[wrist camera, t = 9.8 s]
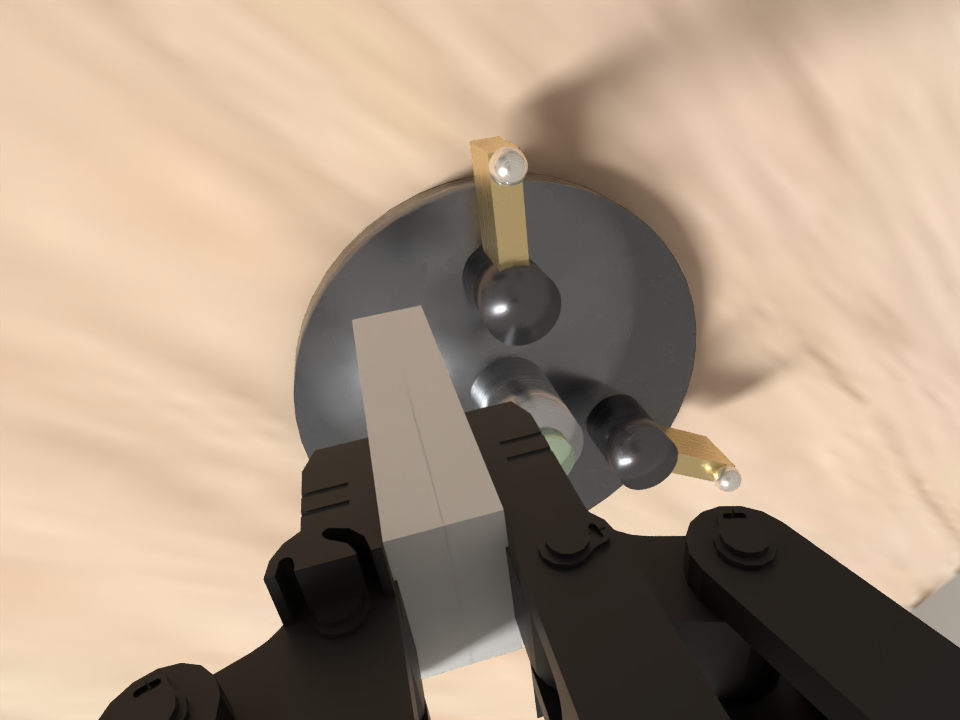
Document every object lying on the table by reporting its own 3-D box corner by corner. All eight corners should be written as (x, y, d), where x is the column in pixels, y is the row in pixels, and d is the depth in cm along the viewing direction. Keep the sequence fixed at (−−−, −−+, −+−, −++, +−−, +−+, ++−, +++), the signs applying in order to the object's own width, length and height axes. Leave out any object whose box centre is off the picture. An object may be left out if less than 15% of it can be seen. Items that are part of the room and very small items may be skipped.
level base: (372, 97, 25) (396, 122, 18) (744, 253, 33) (859, 312, 26) (248, 493, 32) (231, 618, 25) (575, 541, 40) (629, 646, 33)
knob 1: (532, 299, 28) (566, 340, 25) (467, 313, 28) (491, 358, 24) (518, 125, 24) (556, 142, 21) (442, 138, 24) (466, 158, 20)
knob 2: (576, 437, 33) (610, 489, 29) (602, 388, 32) (642, 436, 28) (685, 462, 36) (728, 511, 32) (712, 418, 35) (761, 464, 31)
